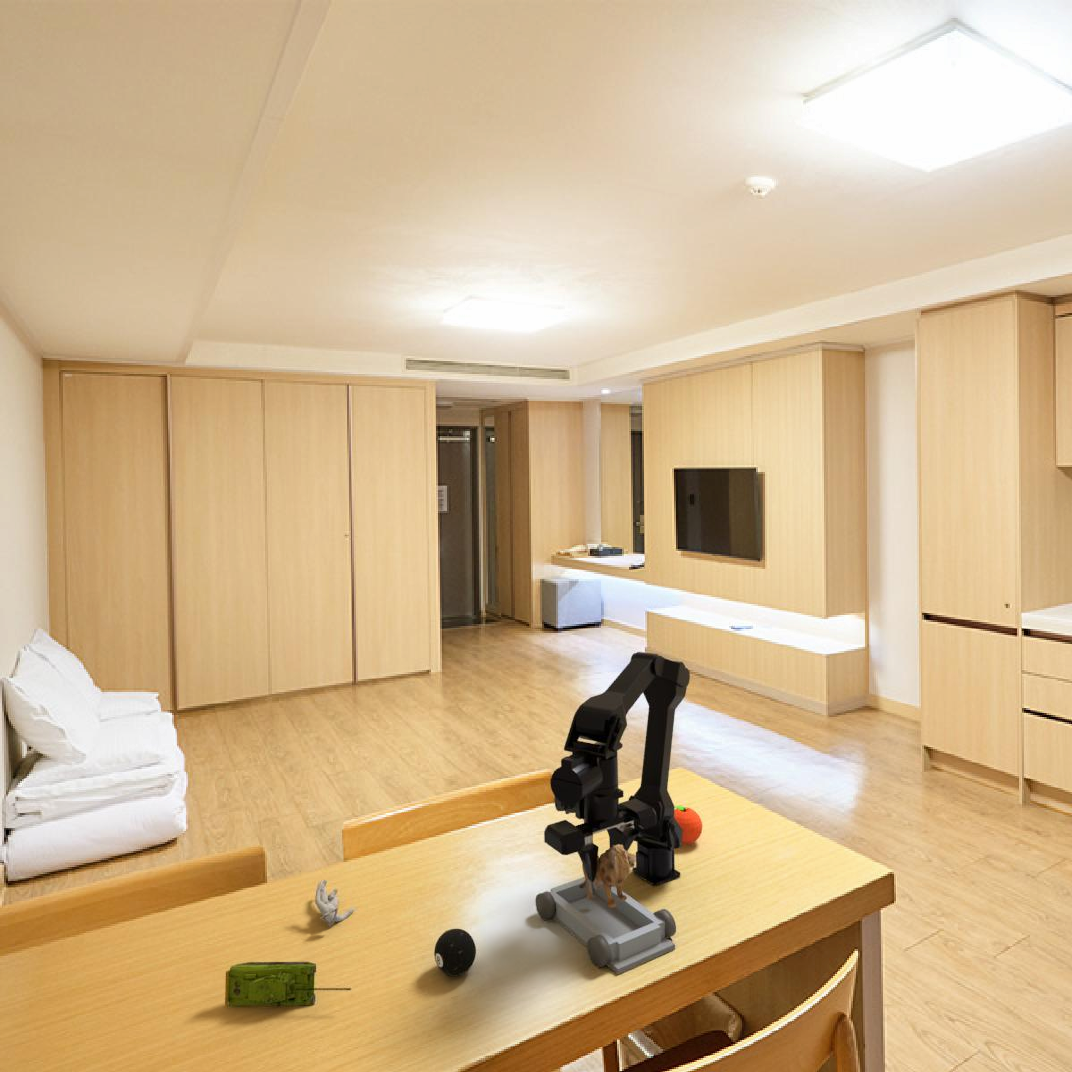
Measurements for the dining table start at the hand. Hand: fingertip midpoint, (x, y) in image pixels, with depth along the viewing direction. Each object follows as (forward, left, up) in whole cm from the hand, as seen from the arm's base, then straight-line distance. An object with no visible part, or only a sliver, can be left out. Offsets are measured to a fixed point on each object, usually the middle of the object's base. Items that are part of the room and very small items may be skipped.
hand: (602, 876), depth 121 cm
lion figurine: (-1, +1, -3) cm, 4 cm away
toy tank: (+48, -8, -9) cm, 49 cm away
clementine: (-31, -15, -9) cm, 35 cm away
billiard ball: (+25, -3, -9) cm, 27 cm away
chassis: (0, 0, -8) cm, 8 cm away
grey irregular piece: (+37, -29, -9) cm, 47 cm away
